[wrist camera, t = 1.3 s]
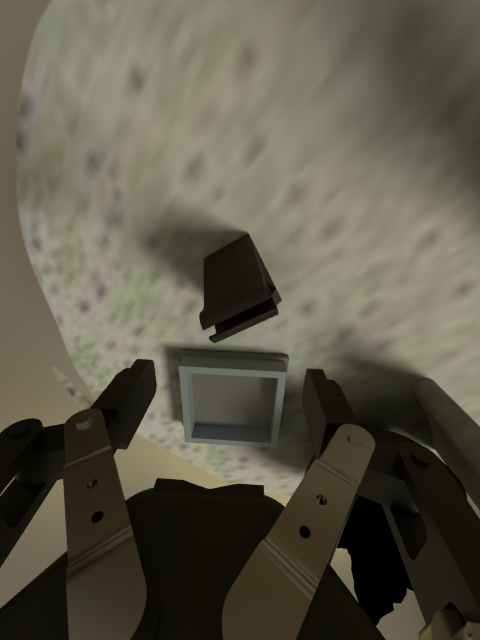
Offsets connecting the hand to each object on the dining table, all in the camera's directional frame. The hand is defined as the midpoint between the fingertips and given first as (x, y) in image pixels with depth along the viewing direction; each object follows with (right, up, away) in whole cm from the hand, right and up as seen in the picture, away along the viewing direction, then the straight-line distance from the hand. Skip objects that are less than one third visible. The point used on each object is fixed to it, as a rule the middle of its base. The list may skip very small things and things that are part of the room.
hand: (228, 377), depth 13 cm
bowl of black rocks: (+19, -17, +28) cm, 39 cm away
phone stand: (+1, +8, +18) cm, 20 cm away
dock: (0, -8, +25) cm, 27 cm away
